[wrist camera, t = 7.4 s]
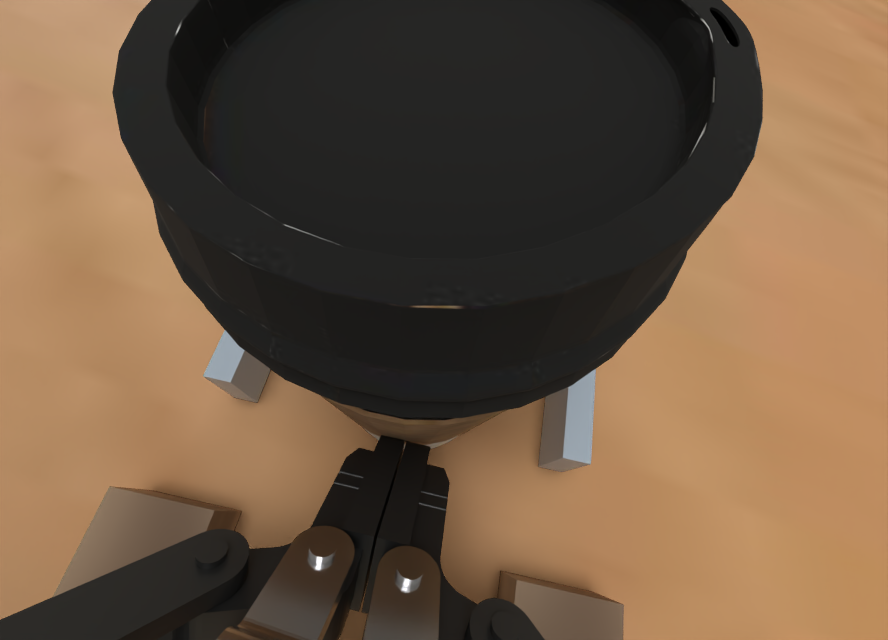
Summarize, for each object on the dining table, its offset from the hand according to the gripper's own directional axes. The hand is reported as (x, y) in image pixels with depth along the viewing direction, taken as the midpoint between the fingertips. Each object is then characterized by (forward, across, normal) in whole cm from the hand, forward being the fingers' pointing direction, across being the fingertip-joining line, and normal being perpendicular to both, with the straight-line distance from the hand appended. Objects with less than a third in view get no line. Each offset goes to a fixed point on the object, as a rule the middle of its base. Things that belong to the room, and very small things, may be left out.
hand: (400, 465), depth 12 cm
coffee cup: (+6, 0, +1) cm, 6 cm away
